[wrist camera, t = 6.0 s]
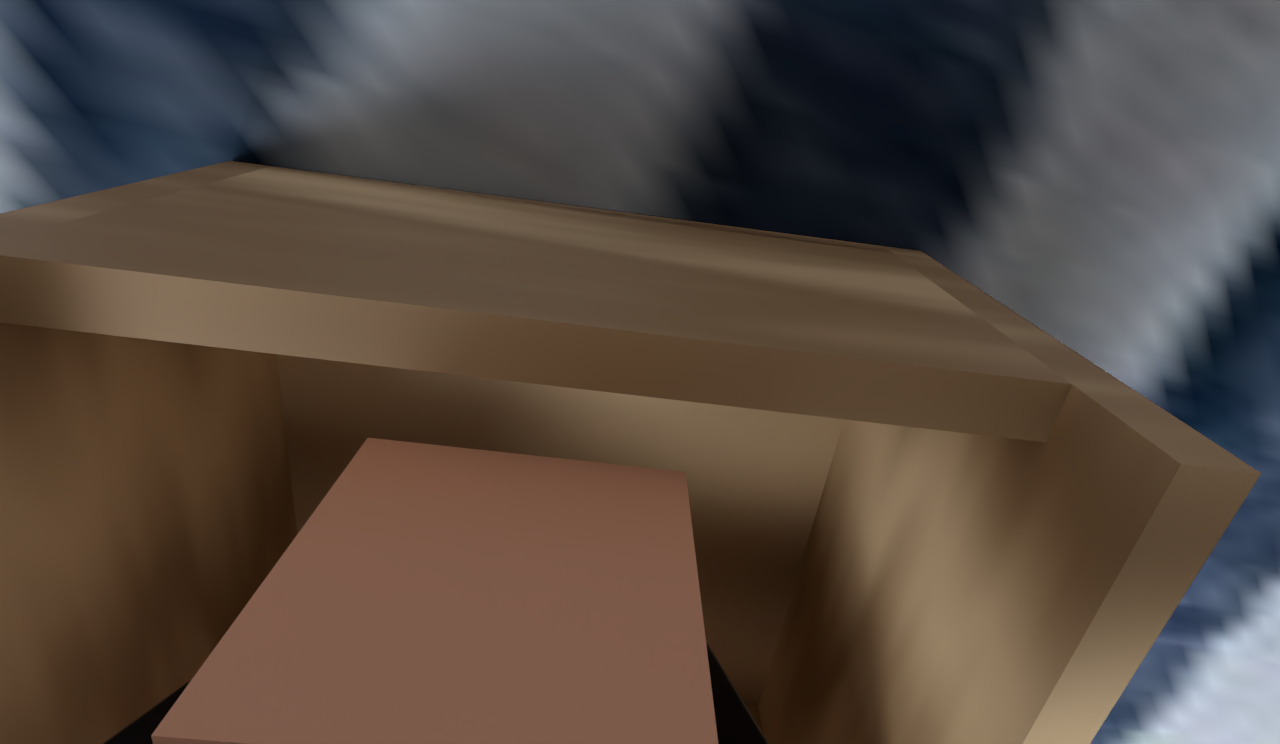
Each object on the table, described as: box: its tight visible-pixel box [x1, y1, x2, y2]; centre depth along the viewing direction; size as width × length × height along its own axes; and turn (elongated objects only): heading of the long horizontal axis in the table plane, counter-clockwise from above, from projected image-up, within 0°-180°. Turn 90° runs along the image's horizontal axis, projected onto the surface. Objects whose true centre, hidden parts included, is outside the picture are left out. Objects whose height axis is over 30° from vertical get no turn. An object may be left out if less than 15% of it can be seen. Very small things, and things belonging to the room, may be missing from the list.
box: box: [0, 161, 1261, 744], centre depth 12 cm, size 14×14×8 cm
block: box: [151, 438, 718, 744], centre depth 7 cm, size 4×4×4 cm
